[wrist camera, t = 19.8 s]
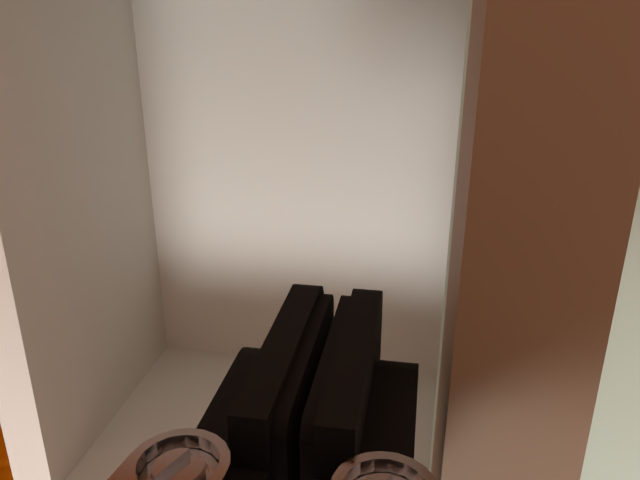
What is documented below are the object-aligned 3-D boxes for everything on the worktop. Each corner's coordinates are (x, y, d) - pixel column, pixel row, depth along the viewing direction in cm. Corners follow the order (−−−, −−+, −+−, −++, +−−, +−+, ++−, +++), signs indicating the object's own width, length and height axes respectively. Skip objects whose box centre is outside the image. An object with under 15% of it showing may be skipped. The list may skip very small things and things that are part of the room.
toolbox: (152, 356, 26) (23, 520, 18) (105, -57, 20) (-120, -93, 12) (839, 427, 22) (1080, 684, 14) (1031, -68, 16) (1651, -135, 8)
